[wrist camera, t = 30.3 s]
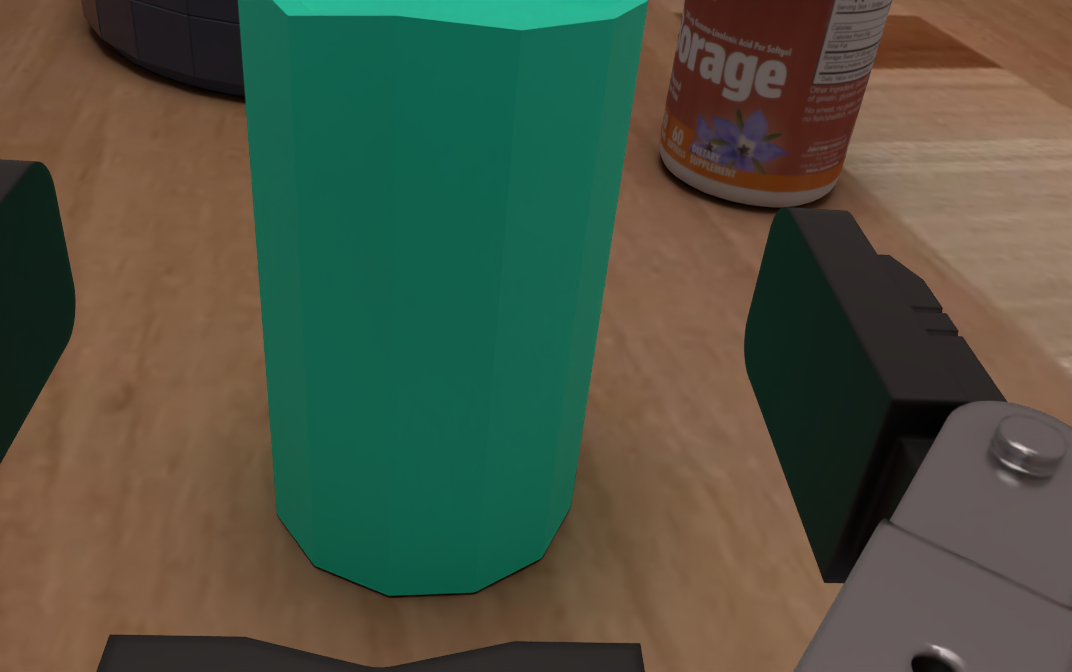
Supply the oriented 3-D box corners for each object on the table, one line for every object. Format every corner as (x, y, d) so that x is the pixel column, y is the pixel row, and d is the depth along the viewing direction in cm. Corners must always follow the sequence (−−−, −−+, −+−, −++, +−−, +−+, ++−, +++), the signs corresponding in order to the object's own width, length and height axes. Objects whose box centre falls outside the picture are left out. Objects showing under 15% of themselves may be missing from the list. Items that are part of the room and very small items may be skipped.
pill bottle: (618, 151, 35) (672, -210, 29) (743, 121, 38) (816, -209, 32) (748, 230, 31) (844, -167, 25) (875, 190, 34) (987, -171, 28)
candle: (418, 359, 24) (435, -206, 17) (628, 478, 21) (746, -137, 15) (210, 488, 20) (125, -185, 13) (435, 655, 17) (475, -86, 10)
